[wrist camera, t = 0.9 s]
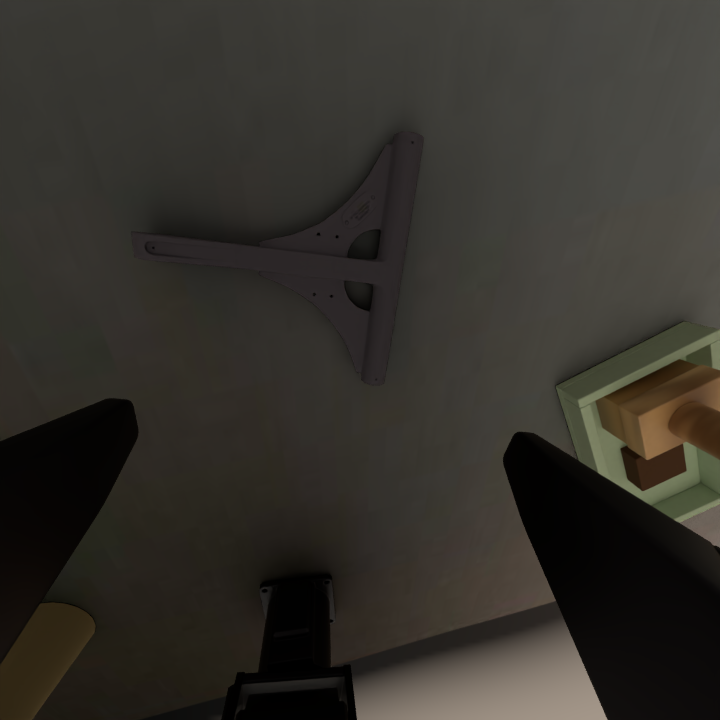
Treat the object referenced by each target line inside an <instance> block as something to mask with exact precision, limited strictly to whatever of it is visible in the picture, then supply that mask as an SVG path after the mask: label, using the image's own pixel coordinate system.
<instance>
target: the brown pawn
mask: <svg viewBox="0 0 720 720" xmlns="http://www.w3.org/2000/svg"><path fill="white" fill-rule="evenodd" d="M95 627H96V625H95V623H94V620H93V618H92V617H91V616H90V615H89V614H88V613H87V612H85V611H83V610H81V609H80V608H78V607H75V606H72V605H68V604H64V603H54V602H52V603H41V604H39V606H38V608H37V609H36V611H35V612H34V614H33V615H32V617H31V618H30V620H29V621H28V623H27V625H26V626H25V628H24V629H23V631H22V632H21V634H20V635H19V637H18V639H17V640H16V642H15V643H14V645H13V646H12V648H11V649H10V651H9V652H8V654H7V656H6V657H5V659H4V660H3V662H2V663H1V665H0V720H32V719H33V717H34V716H35V715H36V713H37V712H38V710H39V709H40V708H41V706H42V705H43V704H44V702H45V701H46V699H47V698H48V697H49V695H50V694H51V692H52V691H53V690H54V688H55V687H56V685H57V684H58V683H59V681H60V680H61V678H62V677H63V676H64V674H65V673H66V671H67V670H68V669H69V667H70V666H71V665H72V663H73V662H74V660H75V659H76V658H77V656H78V655H79V653H80V652H81V651H82V649H83V648H84V646H85V645H86V644H87V642H88V641H89V639H90V638H91V637H92V635H93V634H94V633H95Z"/></svg>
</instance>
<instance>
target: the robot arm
mask: <svg viewBox="0 0 720 720" xmlns="http://www.w3.org/2000/svg"><path fill="white" fill-rule="evenodd" d="M137 437H138V425H137V420H136V415H135V411H134V406H133V404H132V402H131V401H129V400H127V399H115V398H109V399H105V400H102V401H100V402H97V403H95V404H92V405H90V406H87V407H85V408H82V409H80V410H77V411H75V412H72V413H70V414H67V415H65V416H62V417H60V418H57V419H55V420H52V421H50V422H47V423H45V424H42V425H40V426H37V427H35V428H32V429H30V430H27V431H25V432H22V433H20V434H17V435H15V436H12V437H10V438H7V439H5V440H2V441H0V665H1V663H2V662H3V660H4V659H5V657H6V656H7V654H8V652H9V651H10V649H11V648H12V646H13V645H14V643H15V642H16V640H17V639H18V637H19V635H20V634H21V632H22V631H23V629H24V628H25V626H26V625H27V623H28V621H29V620H30V618H31V617H32V615H33V614H34V612H35V611H36V609H37V608H38V606H39V604H40V603H41V601H42V600H43V598H44V597H45V595H46V594H47V592H48V590H49V589H50V587H51V586H52V584H53V583H54V581H55V580H56V578H57V577H58V575H59V573H60V572H61V570H62V569H63V567H64V566H65V564H66V563H67V561H68V559H69V558H70V556H71V555H72V553H73V552H74V550H75V549H76V547H77V546H78V544H79V542H80V541H81V539H82V538H83V536H84V535H85V533H86V532H87V530H88V529H89V527H90V525H91V524H92V522H93V521H94V519H95V518H96V516H97V514H98V513H99V511H100V510H101V508H102V506H103V505H104V503H105V501H106V499H107V497H108V495H109V493H110V492H111V490H112V488H113V486H114V484H115V482H116V480H117V478H118V476H119V474H120V472H121V470H122V468H123V466H124V464H125V462H126V460H127V458H128V456H129V454H130V452H131V450H132V448H133V446H134V444H135V442H136V440H137ZM503 464H504V468H505V471H506V474H507V477H508V480H509V483H510V486H511V489H512V492H513V495H514V498H515V501H516V505H517V508H518V511H519V514H520V517H521V519H522V522H523V525H524V527H525V530H526V532H527V535H528V537H529V539H530V541H531V544H532V546H533V548H534V551H535V553H536V555H537V558H538V560H539V562H540V565H541V567H542V569H543V572H544V574H545V576H546V578H547V581H548V583H549V585H550V588H551V590H552V592H553V595H554V597H555V599H556V602H557V604H558V606H559V608H560V611H561V613H562V615H563V618H564V620H565V622H566V625H567V627H568V629H569V631H570V634H571V636H572V638H573V641H574V643H575V645H576V648H577V650H578V652H579V655H580V657H581V659H582V662H583V664H584V666H585V669H586V671H587V673H588V676H589V678H590V680H591V682H592V685H593V687H594V689H595V692H596V694H597V696H598V698H599V701H600V703H601V706H602V708H603V710H604V713H605V715H606V717H607V719H608V720H720V548H719V547H717V546H713V545H712V543H711V542H709V541H708V540H706V539H704V538H703V537H701V536H700V535H698V534H696V533H695V532H693V531H691V530H690V529H688V528H687V527H685V526H683V525H682V524H680V523H679V522H677V521H675V520H674V519H672V518H670V517H669V516H667V515H666V514H664V513H662V512H661V511H659V510H657V509H656V508H654V507H653V506H651V505H649V504H648V503H646V502H645V501H643V500H641V499H640V498H638V497H636V496H635V495H633V494H632V493H630V492H628V491H627V490H625V489H624V488H622V487H620V486H619V485H617V484H615V483H614V482H612V481H611V480H609V479H607V478H606V477H604V476H602V475H601V474H599V473H598V472H596V471H594V470H593V469H591V468H590V467H588V466H586V465H585V464H583V463H581V462H580V461H578V460H577V459H575V458H573V457H572V456H570V455H569V454H567V453H565V452H564V451H562V450H560V449H559V448H557V447H556V446H554V445H552V444H551V443H549V442H547V441H546V440H544V439H543V438H541V437H539V436H538V435H536V434H534V433H530V432H517V433H515V434H514V435H513V437H512V439H511V441H510V443H509V445H508V447H507V450H506V452H505V454H504V457H503ZM259 593H260V597H261V602H262V606H263V611H264V616H265V620H266V623H265V629H264V636H263V643H262V649H261V656H260V663H259V670H258V673H245V672H238V673H237V676H236V680H235V684H234V685H232V686H230V687H229V688H228V692H227V697H226V701H225V707H224V711H223V715H222V719H221V720H357V717H356V708H355V699H354V691H353V683H352V674H351V665H350V664H349V665H344V666H342V667H331V646H330V624H333V623H335V621H336V617H335V605H334V595H333V584H332V577H331V575H328V574H326V575H318V576H311V577H303V578H296V579H288V580H280V581H273V582H265V583H262V584H261V585H260V589H259Z"/></svg>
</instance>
